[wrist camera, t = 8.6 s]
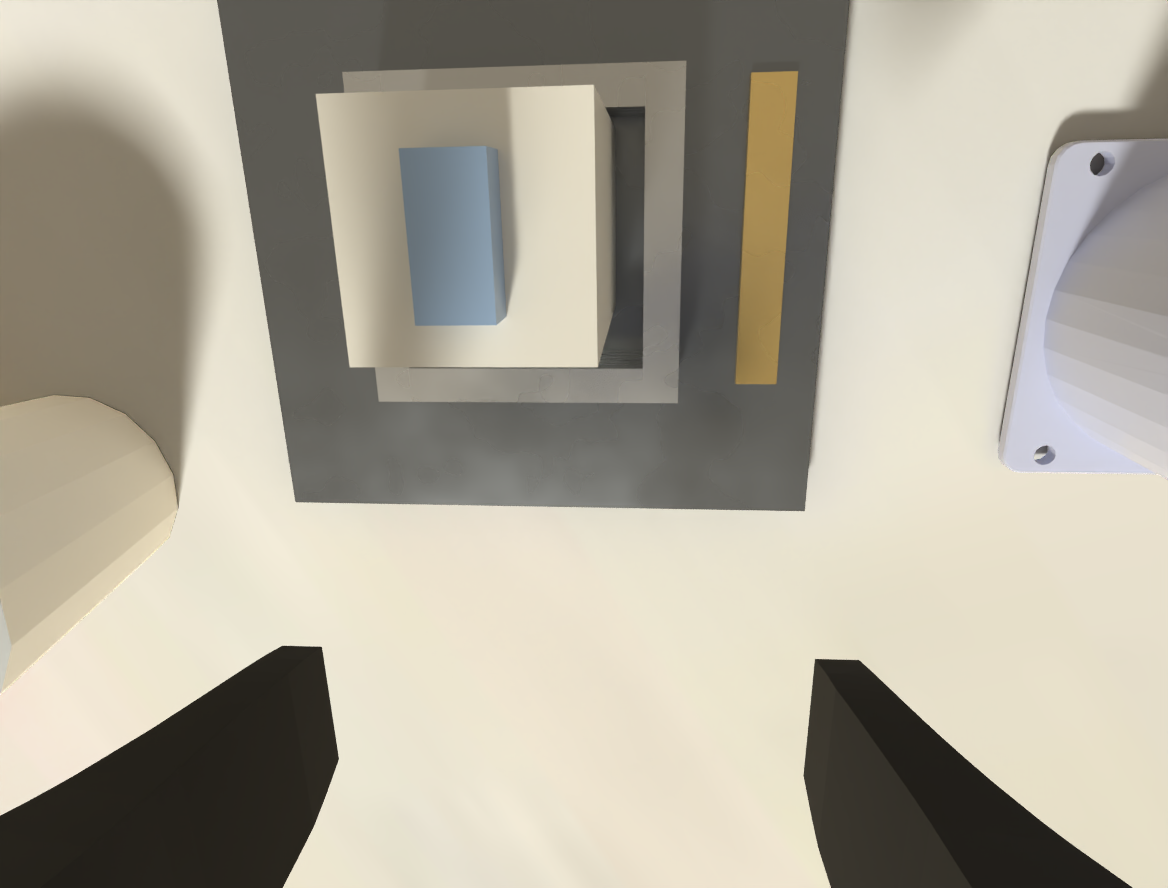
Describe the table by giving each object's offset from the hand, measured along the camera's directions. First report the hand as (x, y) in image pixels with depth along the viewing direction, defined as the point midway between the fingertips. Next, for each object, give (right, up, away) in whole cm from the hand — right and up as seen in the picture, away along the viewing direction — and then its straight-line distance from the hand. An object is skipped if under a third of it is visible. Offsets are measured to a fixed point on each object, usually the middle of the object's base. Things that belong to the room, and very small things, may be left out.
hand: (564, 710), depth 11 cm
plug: (-1, +9, +7) cm, 12 cm away
